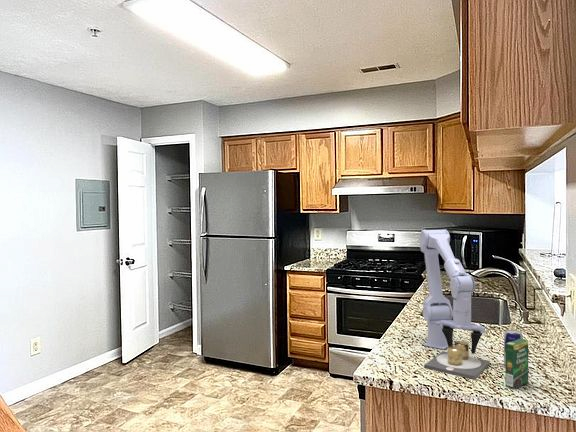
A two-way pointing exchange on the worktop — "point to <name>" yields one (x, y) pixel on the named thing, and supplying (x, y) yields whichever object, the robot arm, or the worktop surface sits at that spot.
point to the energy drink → (510, 339)
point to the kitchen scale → (467, 369)
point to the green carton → (516, 363)
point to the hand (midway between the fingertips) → (461, 350)
